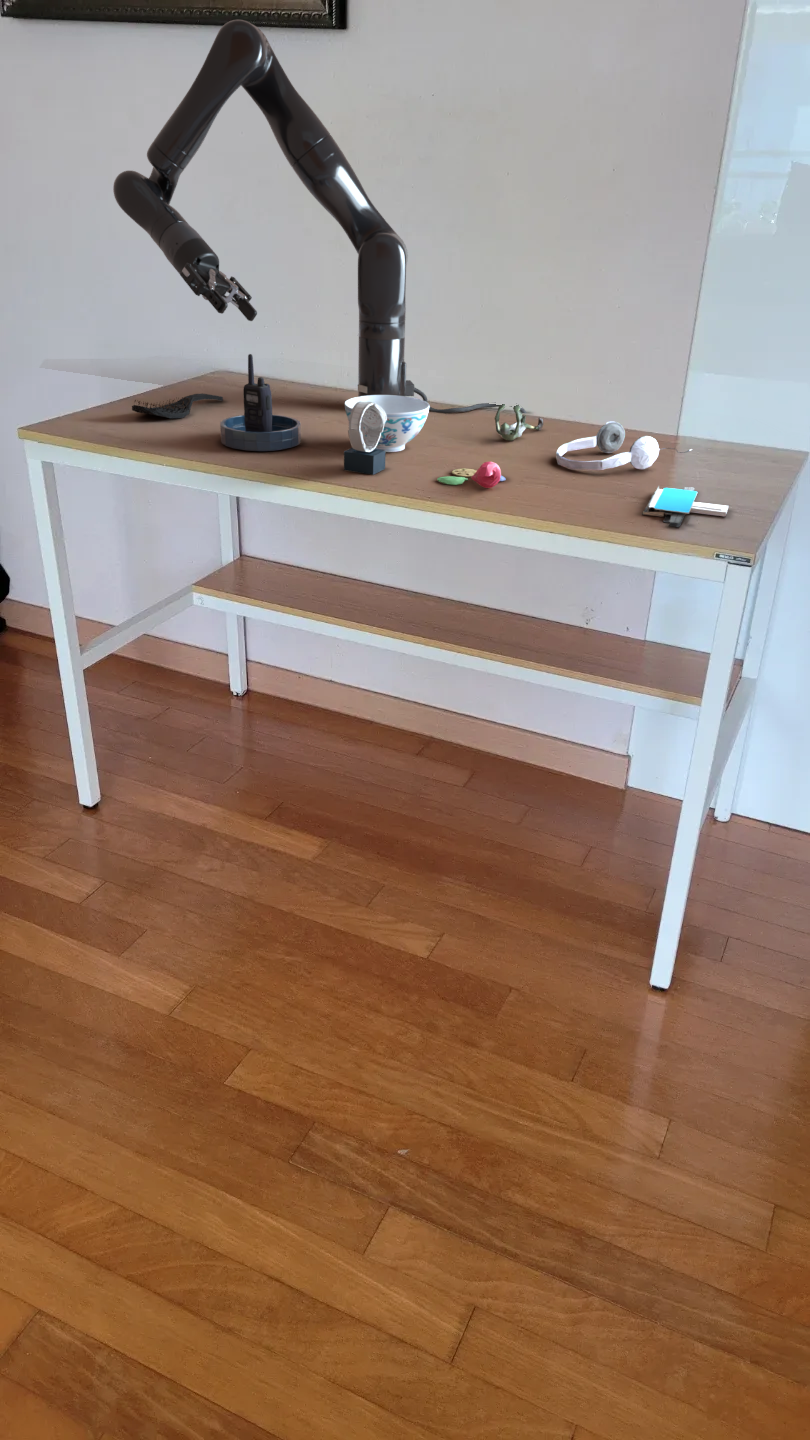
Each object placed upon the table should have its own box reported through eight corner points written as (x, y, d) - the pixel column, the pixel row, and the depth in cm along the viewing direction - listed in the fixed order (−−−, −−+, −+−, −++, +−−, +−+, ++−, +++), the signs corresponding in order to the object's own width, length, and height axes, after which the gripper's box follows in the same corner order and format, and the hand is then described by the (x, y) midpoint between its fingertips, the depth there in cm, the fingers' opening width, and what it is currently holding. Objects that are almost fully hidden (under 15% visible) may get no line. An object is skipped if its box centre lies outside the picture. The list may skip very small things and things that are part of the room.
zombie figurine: (546, 394, 204) (515, 410, 193) (543, 430, 208) (511, 447, 196) (521, 390, 206) (488, 405, 195) (517, 426, 210) (485, 442, 198)
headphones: (639, 441, 197) (542, 466, 192) (639, 410, 194) (540, 435, 189) (694, 466, 182) (590, 493, 178) (694, 433, 179) (588, 460, 175)
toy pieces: (524, 482, 175) (526, 455, 173) (478, 495, 168) (480, 467, 166) (470, 467, 182) (472, 441, 180) (424, 478, 175) (425, 451, 173)
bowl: (296, 432, 200) (296, 413, 199) (304, 452, 188) (304, 432, 186) (220, 433, 198) (219, 414, 196) (222, 453, 185) (221, 433, 184)
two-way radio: (241, 440, 192) (237, 353, 185) (257, 436, 196) (254, 350, 189) (264, 445, 190) (262, 357, 183) (280, 441, 193) (278, 354, 186)
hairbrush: (236, 388, 219) (154, 403, 200) (237, 407, 221) (155, 423, 201) (205, 384, 223) (120, 398, 203) (205, 402, 225) (121, 417, 205)
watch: (390, 466, 181) (391, 399, 176) (368, 477, 175) (369, 408, 170) (361, 461, 183) (361, 395, 178) (338, 472, 177) (338, 404, 172)
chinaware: (373, 433, 201) (373, 391, 198) (442, 445, 195) (444, 402, 191) (327, 449, 190) (327, 405, 186) (400, 463, 183) (401, 417, 180)
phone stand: (720, 533, 155) (722, 521, 154) (637, 522, 158) (639, 511, 157) (731, 496, 171) (733, 486, 171) (656, 487, 175) (658, 477, 174)
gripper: (173, 228, 192) (225, 289, 188) (224, 245, 204) (274, 303, 200) (152, 263, 195) (202, 324, 192) (203, 278, 207) (252, 335, 204)
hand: (239, 313), depth 196 cm, fingers open, 8 cm apart
